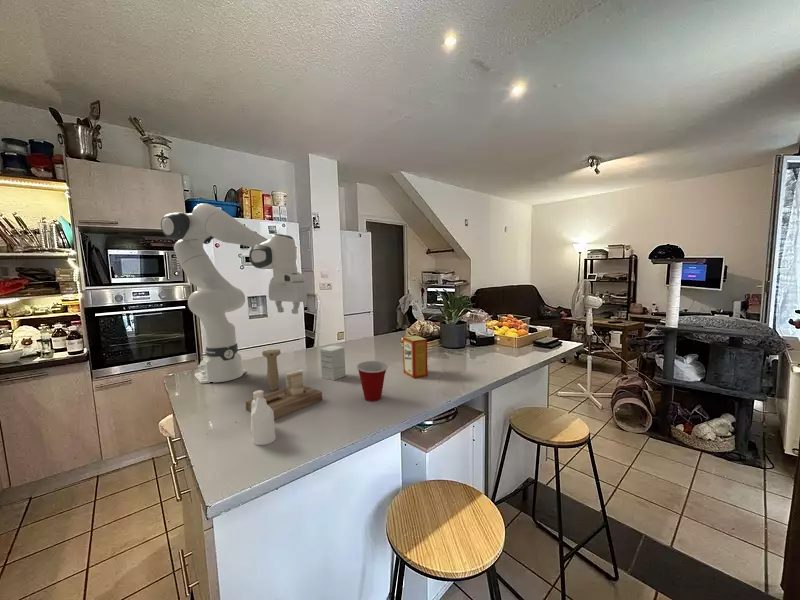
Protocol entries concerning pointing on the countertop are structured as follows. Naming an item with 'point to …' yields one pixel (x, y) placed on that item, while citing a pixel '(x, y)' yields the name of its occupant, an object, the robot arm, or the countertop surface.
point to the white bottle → (256, 395)
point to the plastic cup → (372, 379)
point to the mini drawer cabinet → (332, 362)
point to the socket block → (289, 401)
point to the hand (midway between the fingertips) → (287, 313)
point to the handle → (272, 368)
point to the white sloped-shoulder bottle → (262, 423)
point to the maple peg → (294, 383)
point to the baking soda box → (415, 356)
